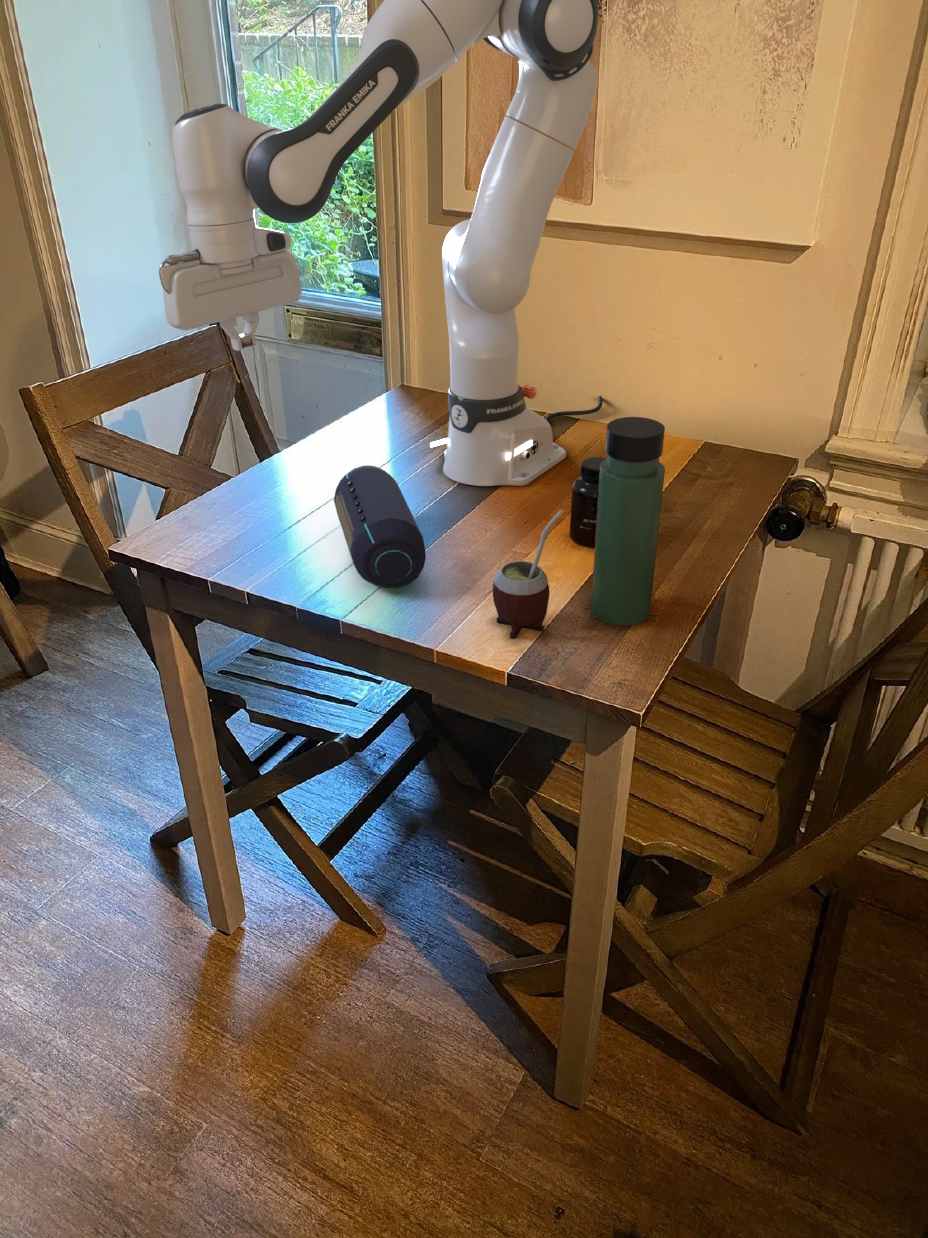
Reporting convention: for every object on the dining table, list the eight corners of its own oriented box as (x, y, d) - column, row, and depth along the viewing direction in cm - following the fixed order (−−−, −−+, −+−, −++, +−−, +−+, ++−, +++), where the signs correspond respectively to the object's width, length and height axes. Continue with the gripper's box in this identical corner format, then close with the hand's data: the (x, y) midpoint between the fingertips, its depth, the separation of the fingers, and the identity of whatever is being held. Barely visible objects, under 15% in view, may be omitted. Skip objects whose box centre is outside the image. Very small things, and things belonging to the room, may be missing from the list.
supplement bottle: (586, 553, 135) (590, 476, 128) (560, 534, 140) (563, 459, 133) (625, 542, 137) (631, 466, 131) (598, 524, 142) (603, 449, 136)
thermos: (614, 588, 126) (629, 410, 113) (661, 609, 122) (682, 426, 108) (578, 610, 122) (589, 427, 108) (626, 632, 117) (643, 444, 104)
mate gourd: (484, 635, 118) (484, 528, 109) (505, 603, 124) (506, 500, 116) (542, 646, 115) (545, 537, 107) (559, 613, 121) (564, 508, 113)
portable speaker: (333, 521, 145) (327, 461, 139) (397, 513, 147) (393, 453, 141) (359, 604, 124) (353, 537, 119) (433, 593, 126) (430, 527, 121)
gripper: (168, 259, 117) (192, 369, 124) (300, 232, 129) (315, 334, 136) (143, 256, 121) (167, 362, 128) (273, 230, 133) (289, 328, 140)
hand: (244, 347), depth 132 cm, fingers closed
